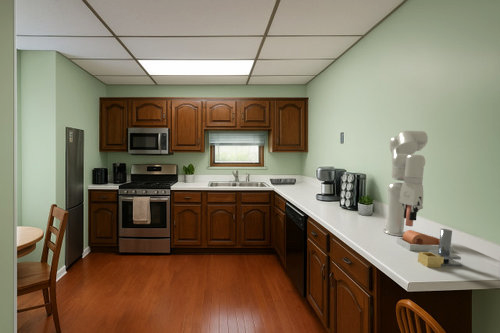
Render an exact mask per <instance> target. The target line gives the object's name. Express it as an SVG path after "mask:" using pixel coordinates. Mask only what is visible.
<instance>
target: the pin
mask: <svg viewBox="0 0 500 333" xmlns="http://www.w3.org/2000/svg"><path fill="white" fill-rule="evenodd" d="M410 212H411V205H407V214H406V218H405V226H406V227H413V226H414V220H409V218H410Z"/></svg>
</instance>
